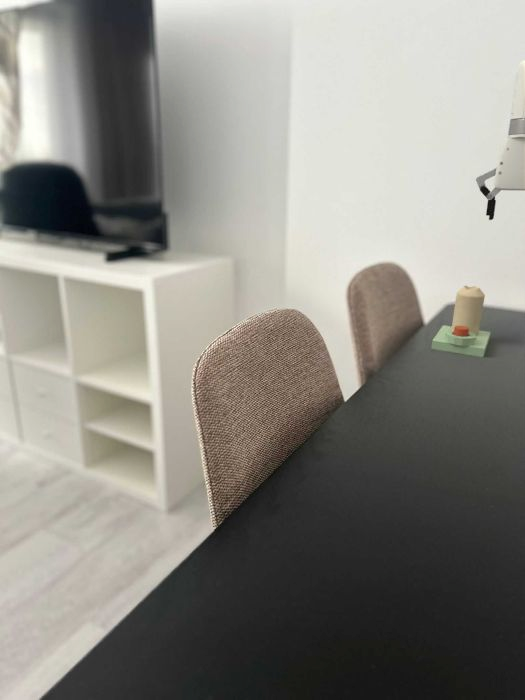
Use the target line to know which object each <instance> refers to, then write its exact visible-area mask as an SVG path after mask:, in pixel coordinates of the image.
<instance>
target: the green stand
mask: <svg viewBox="0 0 525 700" xmlns="http://www.w3.org/2000/svg"><path fill="white" fill-rule="evenodd" d="M453 334H454V330H452V325H451V326H450V325H446V324H445V325H444V324H443V325H442V326H441V328H440V329H439V331H438V332H437V333H436V335H435V336H434V337H433V339H432V342H431V350H437V351H443V352H447V353H448V352H449V353H454V354H461V355H468V356H471V357H472V356H474V357H478V358H484V357H485V354H486V351H487V348H488V345H489V342H490V338H491V331H486V330H480V329H479V333H478V335H475V334H473V333H471V332H469V333H468V336H467V337H461V336H456V335H453Z"/></svg>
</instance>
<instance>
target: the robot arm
mask: <svg viewBox="0 0 525 700" xmlns="http://www.w3.org/2000/svg"><path fill="white" fill-rule="evenodd" d="M493 177H494V188H493V189H492V190H490V189H489V188H488V187H487V185H486V180H488V179H490V178H493ZM475 181H476V184H477V187H478V188H479V192H481V194H482V195H483V196H484V197H485V198H486V200H487V205H486V212H485V216H488V221H492V220H494V217H495V211H496V203H497V199H496V196H497V195H498V194H499V193H501V191H525V59H523V60H522V61H521V62H520V63H519V64H518V66H517V68H516V74H515V80H514V88H513V95H512V103H511V110H510V118H509V124H508V132H507V137H505V138H503V139H502V143H501V147H500V150H499V154H498V157H497V163H496V168H493V169H492V170H490V171H487V172H485V173H483V174H480V175H479V176H477V177H476V178H475Z"/></svg>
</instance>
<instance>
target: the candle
mask: <svg viewBox="0 0 525 700" xmlns="http://www.w3.org/2000/svg"><path fill="white" fill-rule="evenodd" d="M485 297H486V295H485V293H484V292H483V291H482V290H481V288H480V287H477V286H476V285H473V286H468V285H463V287H462V288H460V289H459V290H457V292H456V296H455V301H454V302H455V303H454V309H453V315H452V324H451V326H452V330H454V327H455V326H466V327H468V328H469V332H471V333H473V334H475V335H478V333H479V330H480V327H481V320H482V315H483V314H482V313H483V308H484V303H485Z"/></svg>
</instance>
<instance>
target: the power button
mask: <svg viewBox="0 0 525 700" xmlns="http://www.w3.org/2000/svg"><path fill="white" fill-rule="evenodd" d="M468 333H469V328H468V327H466V326H455V327H454V334H453V335H456V336H461V337H467V336H468Z"/></svg>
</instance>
